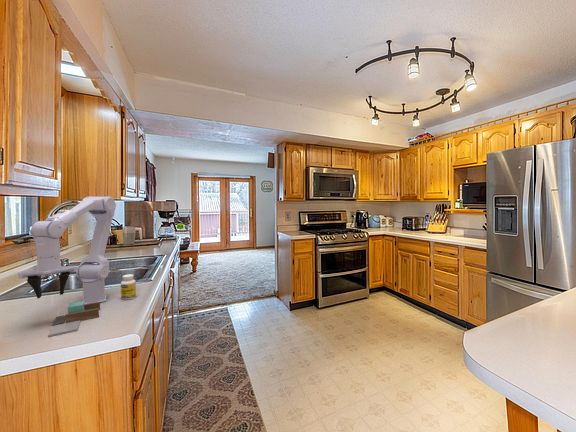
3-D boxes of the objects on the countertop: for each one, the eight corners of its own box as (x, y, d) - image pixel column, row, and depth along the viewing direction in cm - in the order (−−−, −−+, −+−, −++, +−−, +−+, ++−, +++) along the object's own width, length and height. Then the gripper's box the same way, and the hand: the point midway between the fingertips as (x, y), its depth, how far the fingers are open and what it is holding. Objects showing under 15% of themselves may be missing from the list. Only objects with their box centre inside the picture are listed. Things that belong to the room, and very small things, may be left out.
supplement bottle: (119, 301, 105) (119, 278, 104) (122, 296, 109) (121, 274, 109) (134, 299, 107) (134, 276, 106) (136, 294, 112) (136, 273, 111)
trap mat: (56, 317, 89) (56, 316, 89) (67, 315, 91) (67, 314, 91) (51, 326, 83) (51, 324, 83) (63, 323, 85) (63, 322, 85)
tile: (53, 327, 82) (52, 325, 82) (80, 322, 86) (80, 320, 86) (47, 337, 77) (47, 335, 77) (77, 330, 81) (77, 328, 80)
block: (70, 316, 90) (69, 303, 90) (84, 314, 92) (84, 301, 92) (68, 321, 87) (67, 307, 87) (83, 318, 89) (82, 304, 89)
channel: (69, 314, 92) (69, 306, 91) (100, 309, 97) (99, 301, 96) (65, 323, 85) (65, 315, 85) (98, 317, 90) (98, 309, 90)
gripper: (13, 261, 77) (16, 304, 78) (75, 255, 85) (76, 294, 86) (21, 257, 83) (23, 297, 84) (77, 252, 91) (79, 288, 92)
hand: (50, 295), depth 85 cm, fingers open, 5 cm apart
